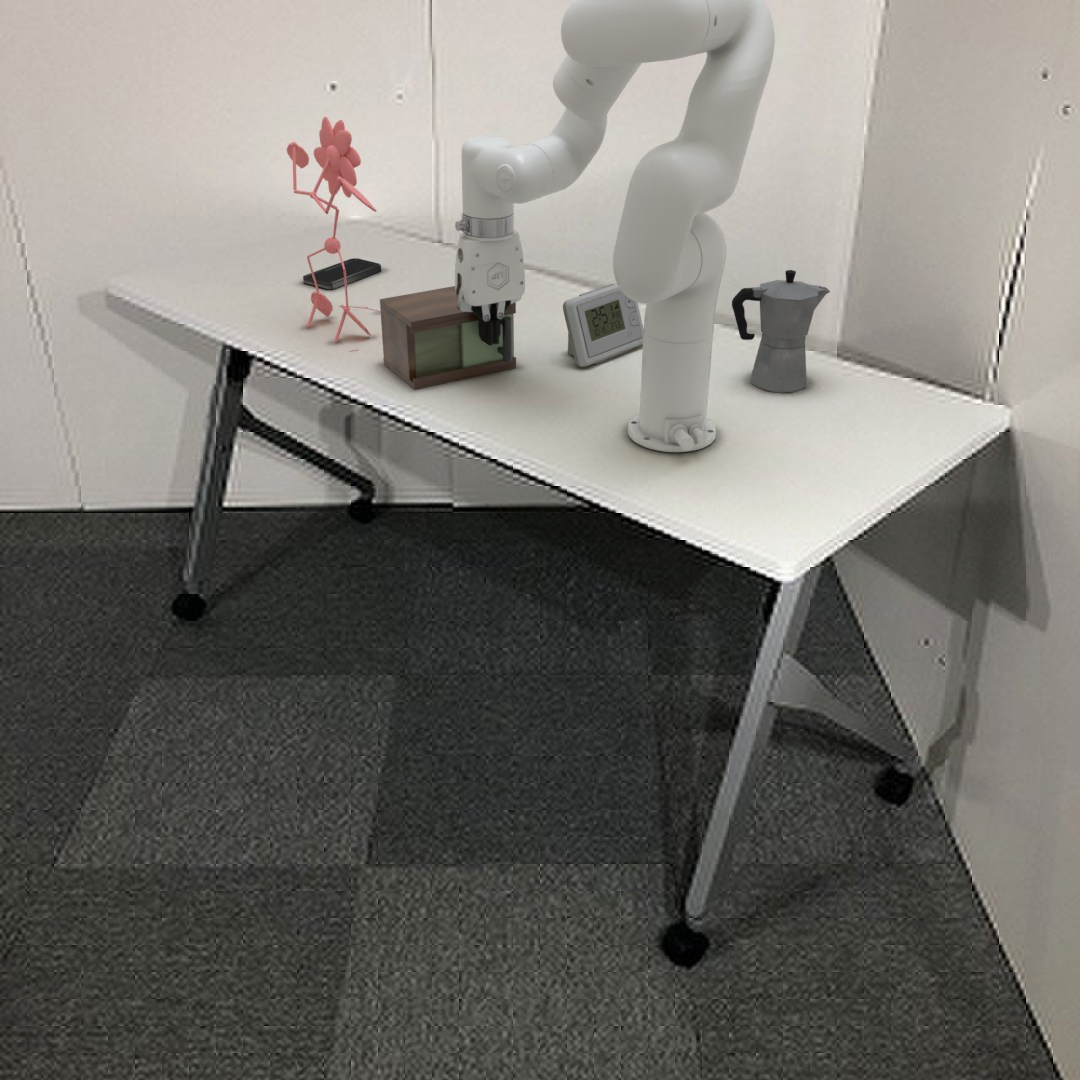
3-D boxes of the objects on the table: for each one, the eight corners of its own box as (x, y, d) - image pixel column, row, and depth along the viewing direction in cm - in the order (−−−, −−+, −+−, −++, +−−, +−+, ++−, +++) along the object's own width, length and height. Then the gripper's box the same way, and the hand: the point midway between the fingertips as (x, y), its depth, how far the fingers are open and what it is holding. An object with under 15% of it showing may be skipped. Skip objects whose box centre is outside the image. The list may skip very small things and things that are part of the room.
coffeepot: (806, 367, 194) (820, 258, 185) (829, 390, 186) (844, 277, 177) (715, 374, 191) (724, 263, 182) (734, 397, 183) (745, 283, 174)
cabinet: (516, 367, 193) (515, 302, 188) (414, 389, 185) (411, 321, 180) (482, 344, 202) (480, 281, 196) (383, 364, 194) (379, 299, 189)
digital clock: (578, 372, 192) (579, 308, 186) (547, 354, 198) (547, 292, 193) (658, 351, 200) (661, 289, 194) (625, 335, 206) (627, 275, 201)
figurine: (357, 358, 196) (340, 138, 179) (279, 316, 213) (257, 111, 196) (434, 337, 205) (425, 125, 187) (353, 298, 222) (338, 100, 204)
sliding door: (523, 365, 191) (523, 315, 186) (473, 376, 187) (472, 325, 182) (511, 357, 194) (511, 307, 189) (461, 368, 190) (460, 317, 185)
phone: (383, 264, 235) (329, 284, 225) (383, 270, 236) (330, 290, 225) (353, 257, 239) (299, 276, 229) (354, 262, 240) (300, 282, 229)
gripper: (455, 238, 171) (458, 359, 180) (544, 224, 178) (543, 341, 187) (431, 225, 176) (435, 343, 186) (519, 211, 183) (519, 326, 192)
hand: (489, 341), depth 186 cm, fingers closed
